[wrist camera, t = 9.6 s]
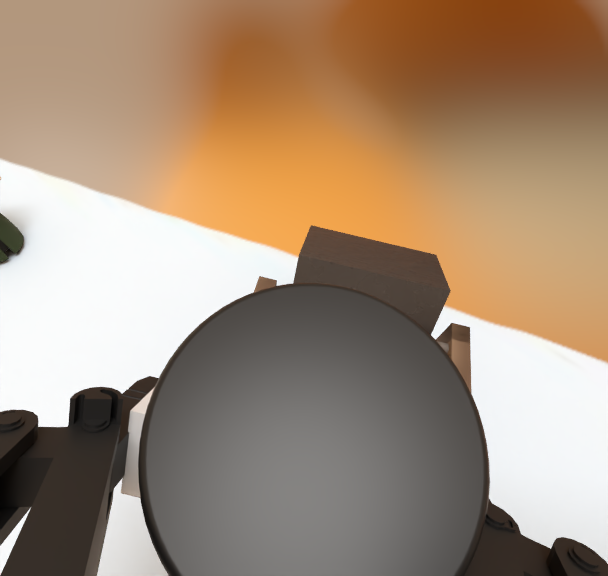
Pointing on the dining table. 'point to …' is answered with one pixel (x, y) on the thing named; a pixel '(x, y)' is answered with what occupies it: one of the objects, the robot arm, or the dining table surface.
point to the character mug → (9, 237)
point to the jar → (313, 444)
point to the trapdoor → (376, 272)
